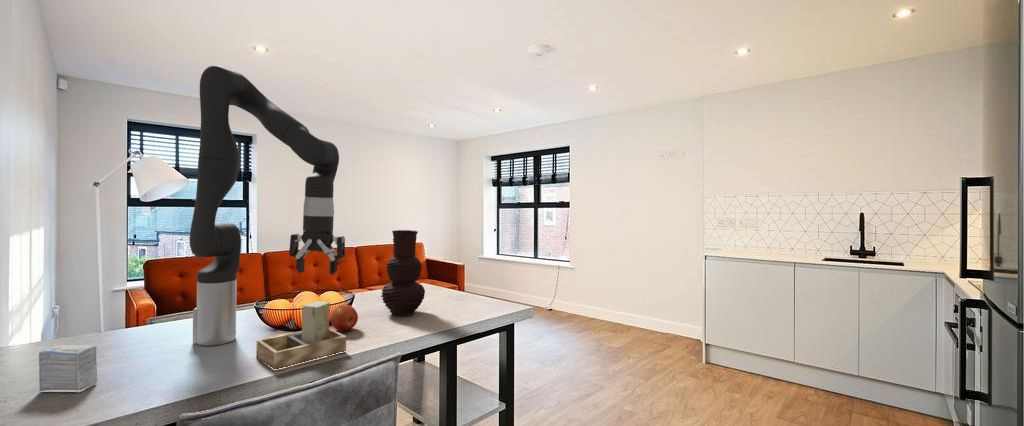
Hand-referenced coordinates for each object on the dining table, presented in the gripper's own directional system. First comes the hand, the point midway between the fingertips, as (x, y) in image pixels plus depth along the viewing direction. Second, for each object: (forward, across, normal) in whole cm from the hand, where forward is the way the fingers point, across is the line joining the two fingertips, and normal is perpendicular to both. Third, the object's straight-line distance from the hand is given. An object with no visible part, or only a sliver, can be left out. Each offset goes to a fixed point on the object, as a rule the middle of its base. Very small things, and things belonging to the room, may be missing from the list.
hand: (316, 273), depth 118 cm
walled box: (+21, -1, -5) cm, 22 cm away
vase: (+21, +15, +37) cm, 45 cm away
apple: (+21, +2, +16) cm, 27 cm away
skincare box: (+20, +1, -2) cm, 20 cm away
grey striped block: (+22, -39, -28) cm, 53 cm away
